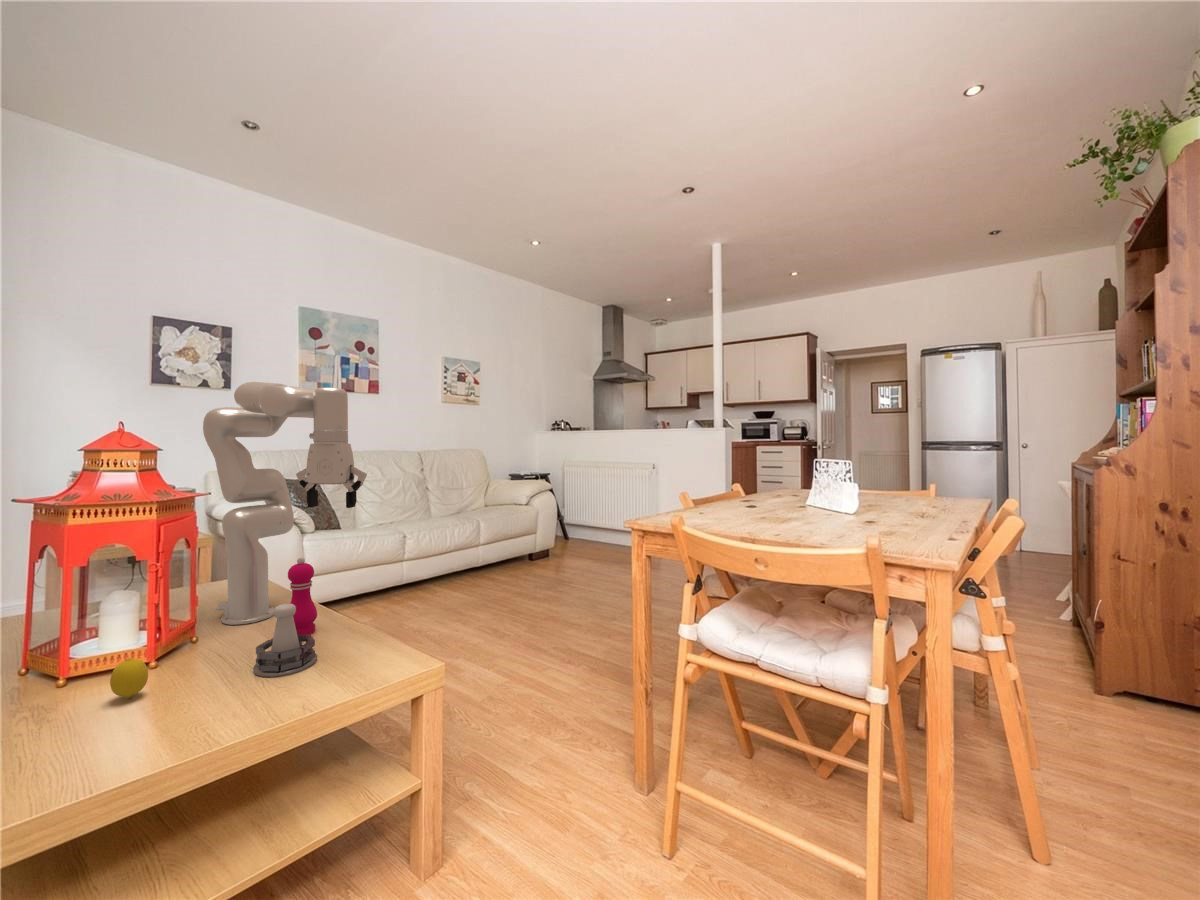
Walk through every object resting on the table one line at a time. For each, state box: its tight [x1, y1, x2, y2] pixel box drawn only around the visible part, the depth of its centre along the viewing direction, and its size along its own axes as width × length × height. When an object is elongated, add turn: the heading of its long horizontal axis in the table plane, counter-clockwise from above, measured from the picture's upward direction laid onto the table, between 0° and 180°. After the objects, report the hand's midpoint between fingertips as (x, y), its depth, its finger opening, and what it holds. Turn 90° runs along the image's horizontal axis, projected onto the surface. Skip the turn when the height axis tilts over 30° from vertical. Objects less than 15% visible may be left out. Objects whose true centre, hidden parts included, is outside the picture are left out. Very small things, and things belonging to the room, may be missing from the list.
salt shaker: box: [270, 603, 300, 664], centre depth 116 cm, size 6×6×13 cm
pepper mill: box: [287, 557, 318, 635], centre depth 134 cm, size 7×7×20 cm
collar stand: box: [252, 634, 318, 679], centre depth 116 cm, size 12×12×5 cm
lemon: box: [109, 657, 149, 699], centre depth 101 cm, size 6×6×8 cm
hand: (331, 507), depth 127 cm, fingers open, 9 cm apart
